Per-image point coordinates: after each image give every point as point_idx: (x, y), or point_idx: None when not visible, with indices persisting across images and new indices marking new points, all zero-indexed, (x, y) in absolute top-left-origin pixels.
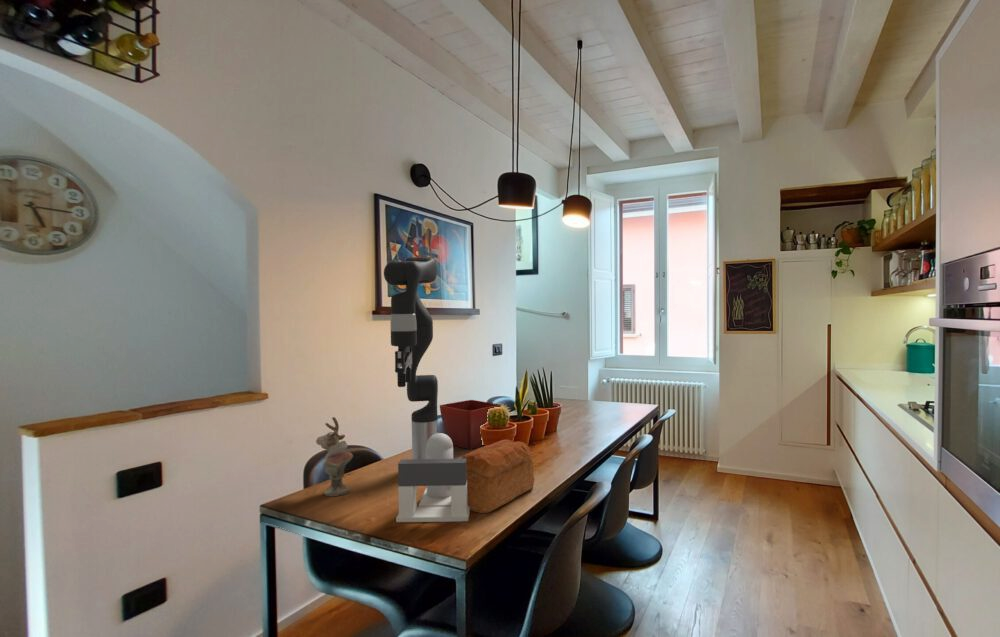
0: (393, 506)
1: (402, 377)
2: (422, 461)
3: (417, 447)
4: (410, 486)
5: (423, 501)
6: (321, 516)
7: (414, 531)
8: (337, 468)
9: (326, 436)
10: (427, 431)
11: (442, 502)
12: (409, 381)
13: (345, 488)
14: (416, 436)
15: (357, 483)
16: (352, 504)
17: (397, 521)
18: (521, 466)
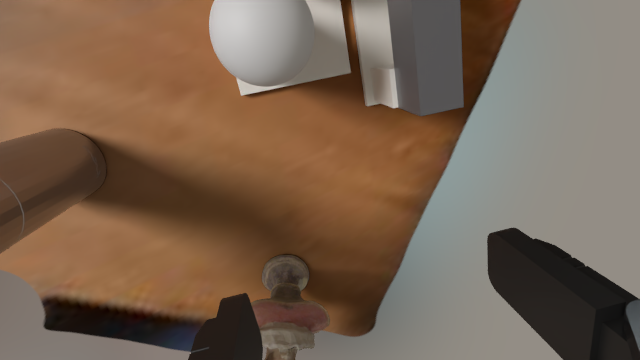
0: (339, 134)
1: (611, 290)
2: (440, 36)
3: (65, 195)
4: None
5: (328, 69)
6: (398, 237)
7: None
8: (302, 300)
9: None
10: (5, 182)
11: (327, 19)
12: (246, 301)
13: (285, 262)
14: (39, 213)
15: (228, 263)
16: (340, 216)
17: None
18: None
